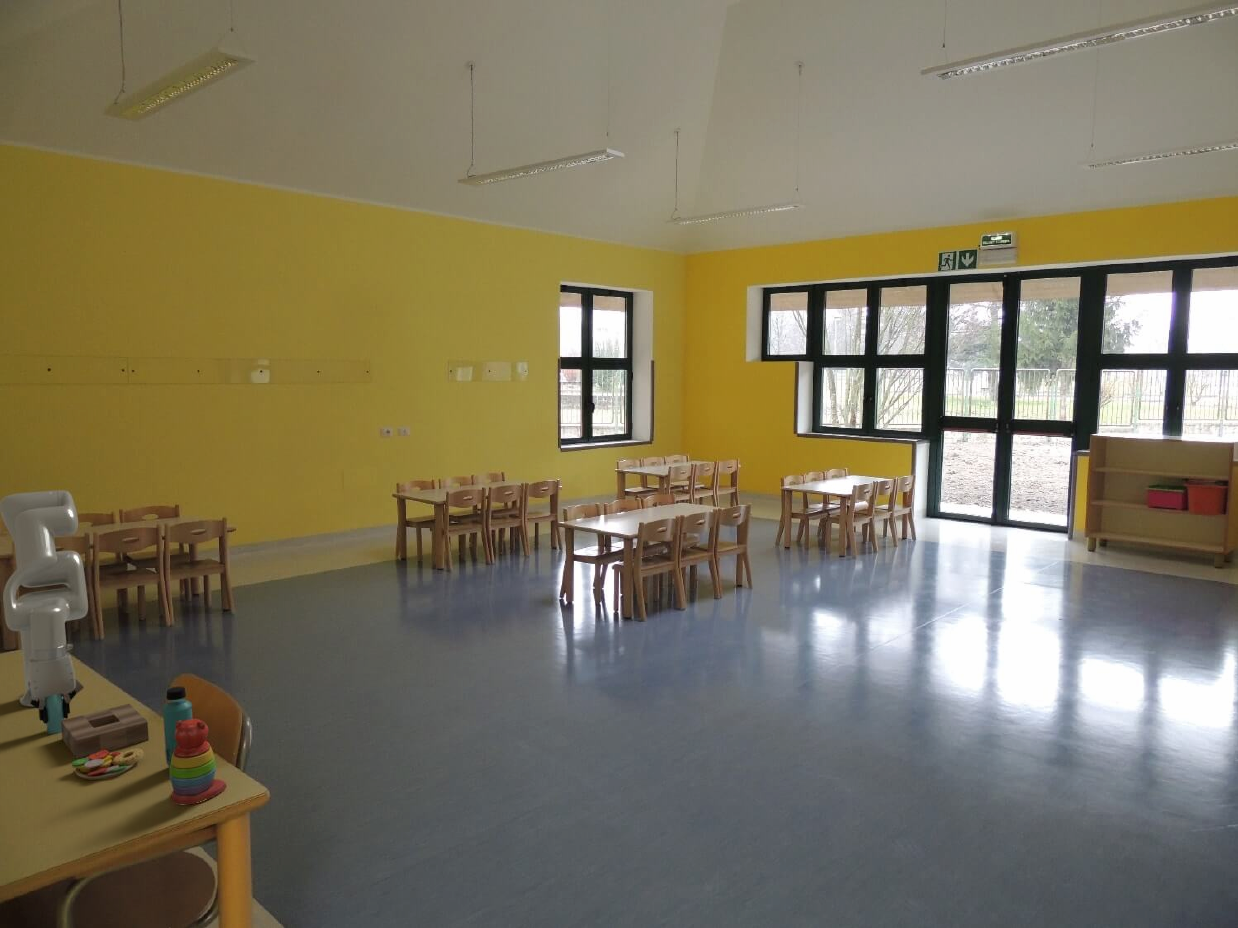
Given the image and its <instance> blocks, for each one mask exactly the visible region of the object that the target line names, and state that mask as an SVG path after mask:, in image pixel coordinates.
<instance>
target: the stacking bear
mask: <svg viewBox="0 0 1238 928" xmlns="http://www.w3.org/2000/svg"><path fill="white" fill-rule="evenodd" d="M175 726H176V731H175V739H176V742H177V744H178V746H177V747H176V748H175V749H174V752H173V754H172V758H171V763H170V767H169V772H168V773H169V779H170V783H171V785H172V789H173V791H172V794H171V799H172V802H173V803H175V804H176V803H177V804H176V805H178V804H193V805H195V804H194V803H197V802H200V801H203V800H205V799H209V798H211V797H213V796H215V795H217V794H218V795H220V794H221V793H223V792H224V790H226V788H227V783H226V781H225V780H223V779H218V778H215V775H216V768H217V765H216V764H217V763H216V758H215V755H214V752H213V748H212V746H211V745H210V743H209V742H208V741H207V738H208V734H209V727H208V725H207V723H205V722H204V721H203V720H201V719H199V718H192V719H189V720H186V721H184V722H183V721H178V722H176V725H175ZM220 792H221V793H220ZM219 793H220V794H219ZM218 795H217V796H218ZM215 797H216V796H215ZM213 798H214V797H213ZM211 799H212V798H211ZM209 800H210V799H209Z"/></svg>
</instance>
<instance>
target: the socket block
mask: <svg viewBox="0 0 1238 928" xmlns="http://www.w3.org/2000/svg"><path fill="white" fill-rule="evenodd" d="M61 729H62V732H61V738H62V741H63V742H64V743H65V745H66V746H67V747H68V749H69V750H70V752H71V753H72V754H73V756H74V757H75V758H76V760H78V759H82V758H87V757H89V756H90V755H92V754H94V753H97V752H99V751H102V750H106V751H108V752H111V751H114V750H118V749H122V748H124V747H129V746H132V745H136V744H139V743H143V742H146V741H149V739H150V738H149V725H148V721H147V719H146V718H145V717H143V715H141V714H140V712H139V711H137V709H135V707H134V706H132V704H130V703H127V704H123V705H120V706H119V705H118V706H114V707H111V708H106V709H103V710H98V711H95V712H91V713H87V714H82V715H78V716H74V717H71V718H69V717H68V718H66V719H65V718H64V720H61Z"/></svg>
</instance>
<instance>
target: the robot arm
mask: <svg viewBox="0 0 1238 928" xmlns="http://www.w3.org/2000/svg"><path fill="white" fill-rule="evenodd" d="M0 515H1V518H2V521H3V523H4V525H5V527H6V529H7V530H8V532H9V534H10V535H11V538H12V541H13V544H14V551H15V552H14V553H15V562H16V570H15V571H14V572H13V573H12V574H11V575H10V577H9V578H8V580H7V582H6V584H5V586H4V589H3V593H2V595H3V597H2V599H3V610H4V611H3V613H4V620H5V624H6V626H7V628H8V629H9V630H11V631H13V632H20V639H21V640H20V641H21V647H22V648H21V650H22V660H23V661H22V662H23V663H22V664H23V672H24V673H23V674H24V685H25V686H24V687H25V692H24V694H23V695H22V696H21V697H20V698H19V703H20V705H21V706H24V707H33V708H34V707H35V708H37V709H38V717H39V720H40V722H41V721H42V723H43V724H44V725H46V723H48V718H47V709H46V708H45V698H46V697H49V696H52V695H56V694H62V697H63V711H64V720H65V719H69V715H70V714H71V708H70V703H71V702H72V700H73V699H74V698H75V696H76V695H77V694H79V693H80V692H81V691H82V690H83V689H84V685H83V684H82V683H81V682H80V681H78V679H77V678H76V676H75V675H76V673H75V668H74V664H73V660H72V656H71V654H70V652H69V651H71V650H73V648H74V645H73V643H67V637H66V625H65V623H66V622H68V621H74V620H80V619H83V618H85V617H86V615H87V614H88V611H89V601H88V593H87V585H86V576H85V567H84V563H83V560H82V556H81V555H80V553H79V552H77V551H75V550H60V551H56V543H55V542H56V541H55V538H56V537H66V536H72V535H75V534H76V533H77V531H78V528H79V517H78V512H77V508H76V505H75V501H74V498H73V496H72V493H70V491H68V490H61V489H60V490H44V491H33V492H32V491H31V492H21V493H20V492H19V493H13V494H10V495H7V496H4V497H3V498H2V499H1V500H0ZM56 585H65V586H67V587H63V588H56V589H47V590H40V591H39V590H38V591H34V592H27V593H25V594H23V595H21V596H20V597H18V599H16V596H17V595H16V594H17V591H18V589H19V588H20V586H22V587H24V588H40V587H47V586H56Z"/></svg>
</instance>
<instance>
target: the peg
mask: <svg viewBox="0 0 1238 928" xmlns="http://www.w3.org/2000/svg"><path fill="white" fill-rule="evenodd" d="M45 708H46V709H47V718H48V723H46V724H45V725H46V733H47V734H48V735H57V734H59V733H62V729H61V720H65V718H64V711H63V697H62V694H56V695H52V696H49V697H46V698H45Z"/></svg>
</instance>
